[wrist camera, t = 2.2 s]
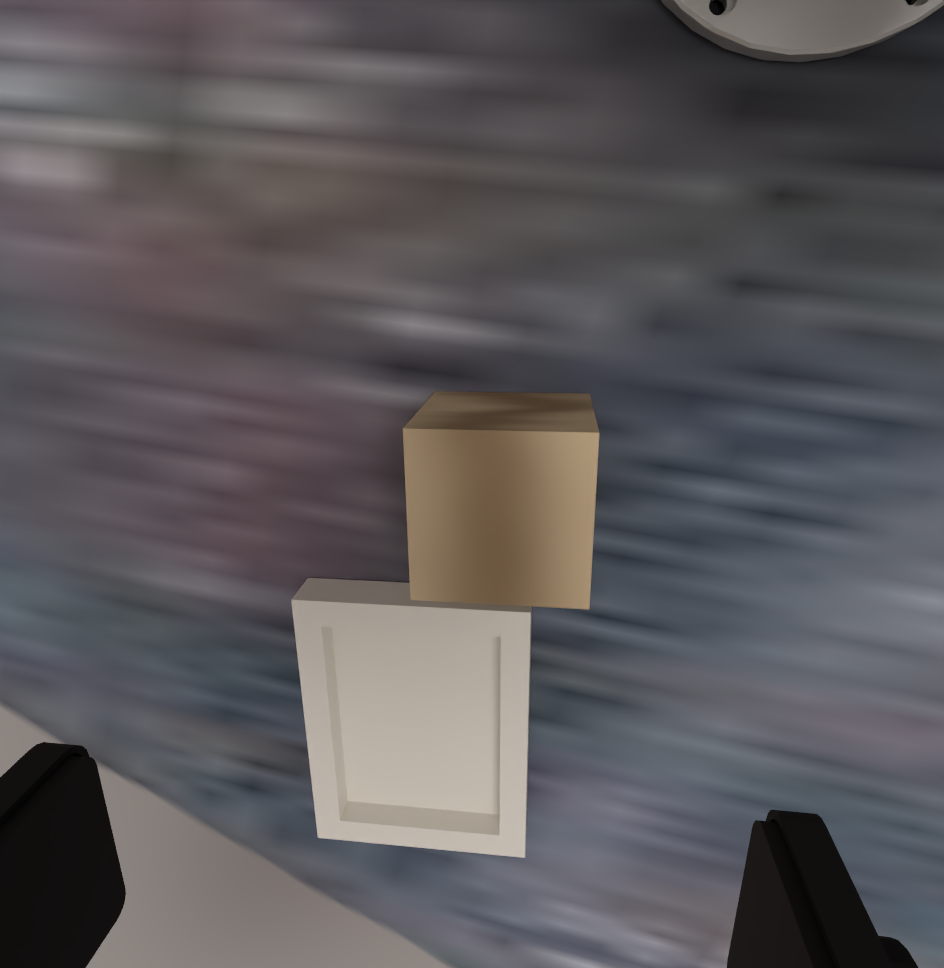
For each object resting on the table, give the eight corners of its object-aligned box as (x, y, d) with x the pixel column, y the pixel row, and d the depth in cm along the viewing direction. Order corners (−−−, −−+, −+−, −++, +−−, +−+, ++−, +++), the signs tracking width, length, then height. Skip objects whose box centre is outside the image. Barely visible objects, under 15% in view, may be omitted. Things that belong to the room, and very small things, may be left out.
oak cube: (589, 393, 25) (599, 432, 20) (581, 536, 27) (589, 609, 22) (435, 390, 26) (402, 428, 20) (439, 530, 28) (410, 599, 22)
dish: (532, 588, 28) (530, 612, 26) (526, 822, 32) (524, 857, 31) (308, 577, 29) (291, 600, 27) (331, 805, 34) (317, 837, 32)
